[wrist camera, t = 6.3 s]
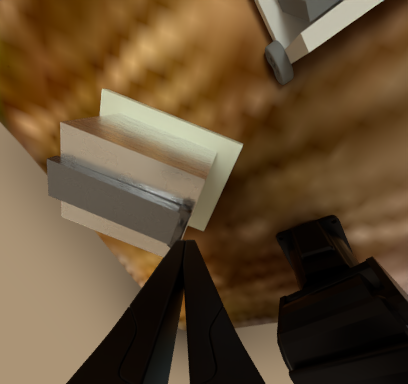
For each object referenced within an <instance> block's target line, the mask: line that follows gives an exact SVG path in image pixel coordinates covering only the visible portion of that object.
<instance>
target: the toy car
mask: <svg viewBox="0 0 408 384" xmlns="http://www.w3.org/2000/svg"><path fill="white" fill-rule="evenodd" d="M254 1H255V3H256V5H257V7H258V10H259V12H260V14H261V16H262V18H263V20H264V22H265V25H266V27H267V29H268V31H269V33H270V35H271V38H272V40H273V42H272V43H270V44H269V45H268V46H267V47H266V48H265V55H266V58H267V60H268V62H269V64H270V65H271V66H272V68H273V70H274V74H275V77H276V79H277V80H278V82H279V83H280V84H281V85H284V84H286V83H287V82H289V81H290V80H292V79H293V76H294V74H293V68H292V65H291V64H292V63H293V62H295V61H297V60H298V59H300V58H301V57H303V56H305V55H306V54H308V53H309V52H311V51H312V50H314V49H315V48H317V47H318V46H319V45H321V44H322V43H324V42H325V41H326V40H328V39H329V38H331V37H332V36H334V35H335V34H336V33H338V32H339V31H341V30H342V29H343V28H345V27H346V26H348V25H349V24H350V23H352V22H353V21H355V20H356V19H358V18H359V17H360V16H362V15H363V14H365V13H366V12H367V11H369V10H370V9H372V8H373V7H375V6H376V5H377V4H379V3H380V2H382V1H383V0H254Z"/></svg>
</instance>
